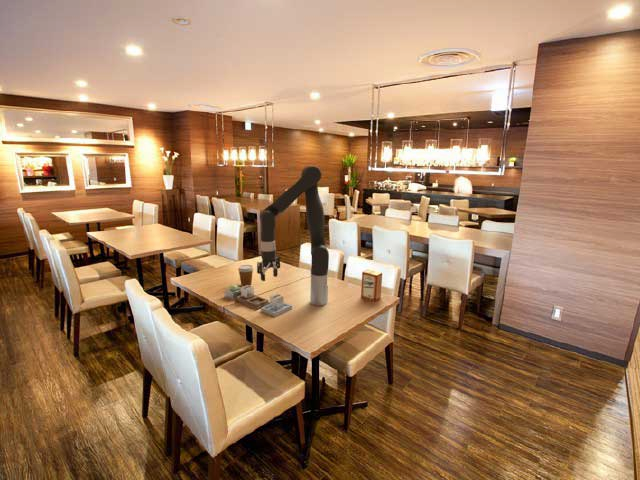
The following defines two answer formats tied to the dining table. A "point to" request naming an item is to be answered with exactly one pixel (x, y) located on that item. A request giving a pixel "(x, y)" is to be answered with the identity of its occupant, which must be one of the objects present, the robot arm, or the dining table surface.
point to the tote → (271, 312)
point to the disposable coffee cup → (245, 274)
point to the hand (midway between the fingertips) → (269, 278)
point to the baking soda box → (371, 284)
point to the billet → (276, 302)
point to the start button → (234, 288)
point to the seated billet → (247, 292)
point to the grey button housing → (232, 293)
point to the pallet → (253, 302)
